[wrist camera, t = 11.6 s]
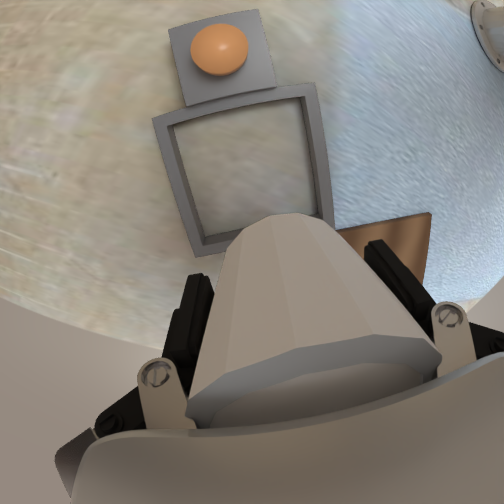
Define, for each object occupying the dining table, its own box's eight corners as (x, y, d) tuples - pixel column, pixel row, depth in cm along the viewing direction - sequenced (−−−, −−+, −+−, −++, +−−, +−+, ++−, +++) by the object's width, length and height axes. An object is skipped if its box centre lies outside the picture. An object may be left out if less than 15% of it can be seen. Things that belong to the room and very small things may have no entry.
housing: (292, 16, 19) (299, 5, 16) (329, 221, 30) (338, 234, 27) (142, 50, 20) (129, 44, 17) (198, 248, 32) (193, 264, 28)
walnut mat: (428, 212, 30) (431, 214, 29) (417, 294, 37) (419, 297, 36) (332, 230, 31) (334, 233, 30) (336, 316, 38) (337, 320, 37)
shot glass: (383, 277, 12) (453, 395, 6) (272, 347, 14) (285, 471, 8) (305, 160, 9) (410, 266, 3) (173, 267, 11) (127, 418, 5)
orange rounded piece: (241, 32, 19) (241, 18, 15) (251, 73, 21) (253, 66, 17) (194, 43, 19) (185, 31, 15) (204, 84, 21) (196, 78, 17)
